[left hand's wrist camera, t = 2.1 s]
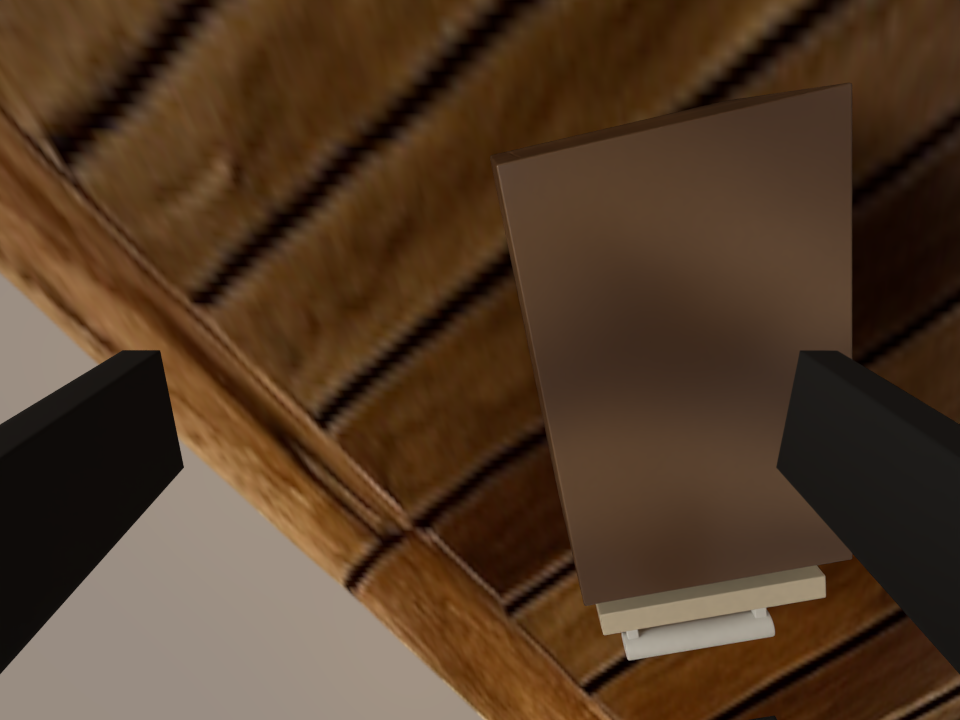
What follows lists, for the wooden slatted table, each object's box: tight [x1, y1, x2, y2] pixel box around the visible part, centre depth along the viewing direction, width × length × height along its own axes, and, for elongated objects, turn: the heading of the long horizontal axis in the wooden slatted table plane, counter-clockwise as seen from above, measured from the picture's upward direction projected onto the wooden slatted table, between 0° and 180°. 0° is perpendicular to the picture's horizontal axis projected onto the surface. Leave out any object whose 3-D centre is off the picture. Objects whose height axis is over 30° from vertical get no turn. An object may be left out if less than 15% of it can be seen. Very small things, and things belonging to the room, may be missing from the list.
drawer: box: [596, 565, 826, 660], centre depth 28 cm, size 22×10×8 cm, turn 12°
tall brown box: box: [490, 83, 852, 606], centre depth 26 cm, size 18×11×10 cm, turn 12°
